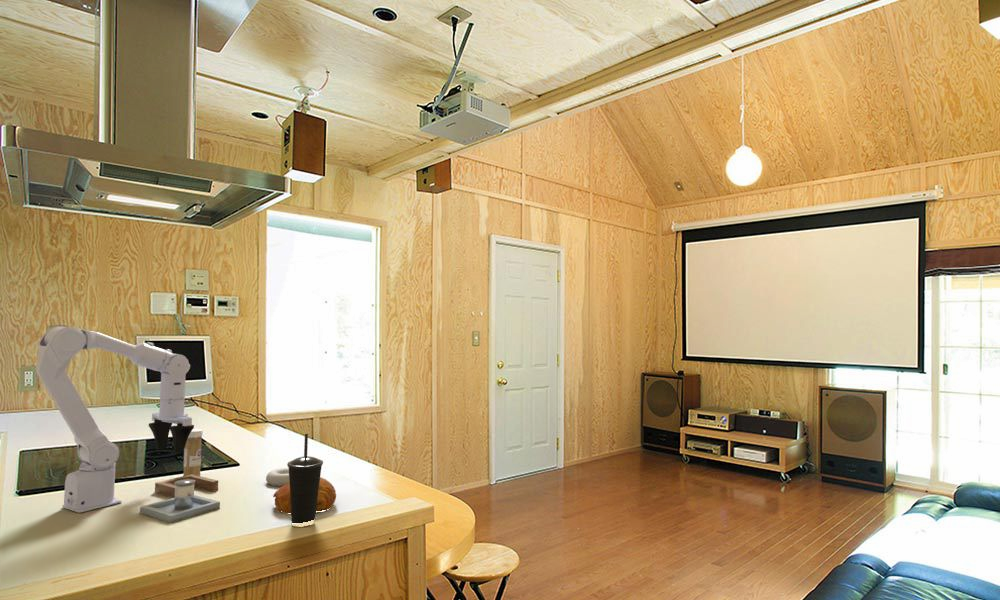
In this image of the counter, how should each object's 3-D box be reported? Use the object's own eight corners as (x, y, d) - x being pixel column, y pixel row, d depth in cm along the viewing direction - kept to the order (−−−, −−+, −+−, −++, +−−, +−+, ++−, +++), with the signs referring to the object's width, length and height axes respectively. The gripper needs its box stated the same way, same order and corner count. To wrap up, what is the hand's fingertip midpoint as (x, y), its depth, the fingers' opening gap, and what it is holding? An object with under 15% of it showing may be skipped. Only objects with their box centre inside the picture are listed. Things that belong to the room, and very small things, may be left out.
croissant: (329, 503, 150) (331, 471, 152) (339, 513, 136) (340, 478, 138) (270, 508, 144) (272, 475, 146) (274, 519, 131) (276, 482, 132)
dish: (170, 522, 127) (171, 516, 127) (139, 513, 133) (140, 506, 133) (219, 508, 138) (220, 501, 138) (189, 499, 144) (189, 493, 144)
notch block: (181, 499, 144) (182, 489, 144) (154, 492, 149) (155, 482, 149) (218, 490, 152) (218, 480, 152) (191, 483, 158) (191, 474, 158)
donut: (274, 490, 154) (309, 483, 161) (274, 477, 154) (310, 471, 161) (260, 482, 161) (294, 475, 168) (260, 470, 162) (294, 464, 168)
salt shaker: (180, 511, 133) (181, 484, 134) (169, 508, 136) (170, 482, 136) (198, 506, 137) (199, 480, 138) (186, 503, 139) (188, 478, 140)
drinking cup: (300, 532, 123) (303, 438, 124) (277, 525, 127) (281, 434, 128) (328, 522, 130) (331, 433, 131) (305, 515, 134) (308, 429, 135)
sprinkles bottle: (197, 479, 162) (199, 431, 163) (179, 479, 162) (181, 431, 162) (203, 474, 167) (205, 428, 167) (186, 475, 166) (188, 428, 167)
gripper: (203, 399, 152) (201, 451, 152) (170, 395, 159) (168, 444, 159) (177, 402, 146) (175, 456, 145) (144, 397, 153) (142, 449, 152)
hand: (170, 450), depth 152 cm, fingers open, 7 cm apart
